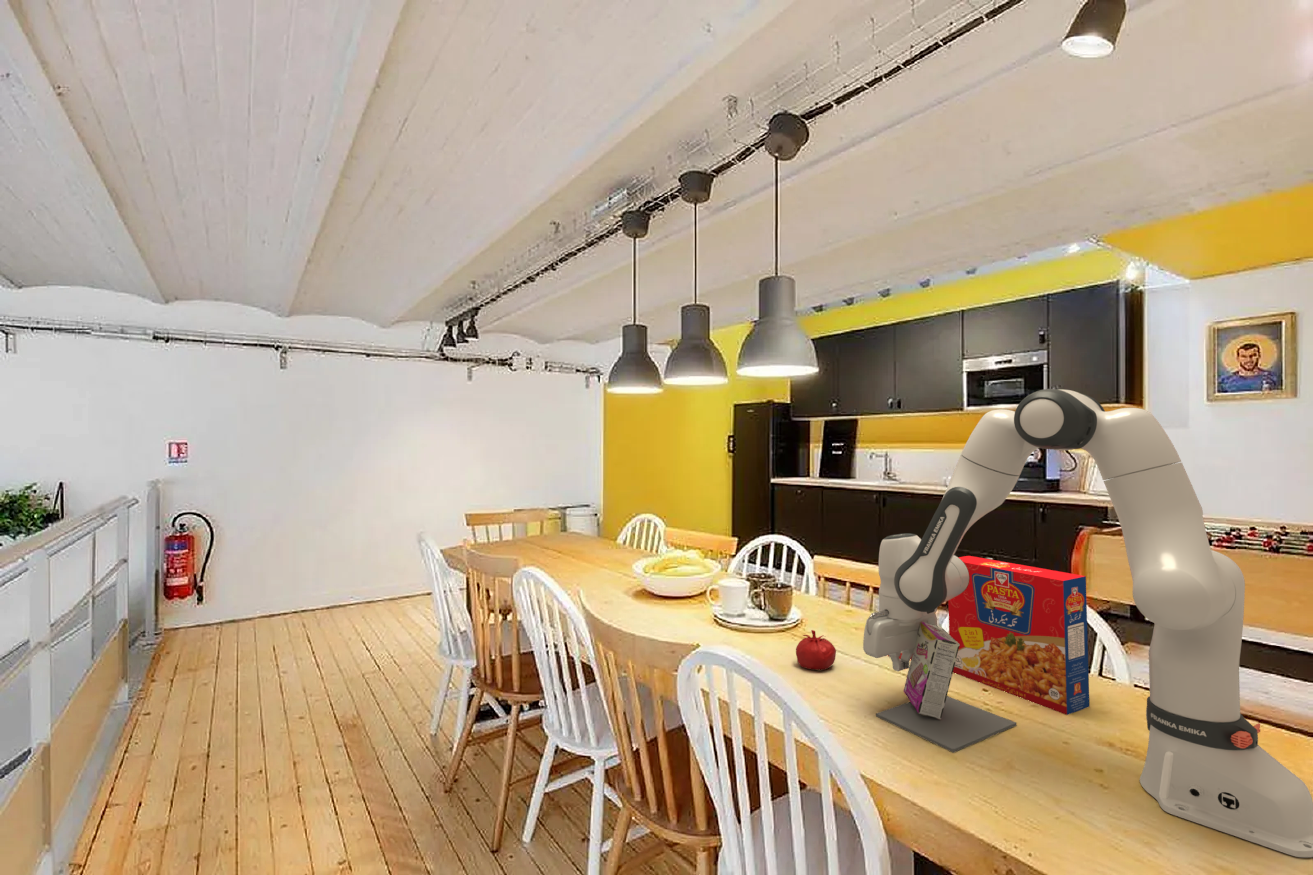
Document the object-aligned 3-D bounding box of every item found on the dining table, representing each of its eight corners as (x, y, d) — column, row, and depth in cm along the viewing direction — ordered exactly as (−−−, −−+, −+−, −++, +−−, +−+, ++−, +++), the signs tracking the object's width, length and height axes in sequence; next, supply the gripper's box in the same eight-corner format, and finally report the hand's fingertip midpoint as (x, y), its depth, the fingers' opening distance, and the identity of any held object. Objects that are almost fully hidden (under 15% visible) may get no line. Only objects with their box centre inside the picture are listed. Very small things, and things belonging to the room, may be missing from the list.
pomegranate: (827, 677, 154) (826, 640, 153) (789, 668, 160) (788, 632, 159) (842, 664, 161) (841, 628, 161) (805, 656, 168) (804, 622, 167)
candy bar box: (901, 691, 138) (919, 620, 138) (923, 697, 138) (942, 626, 137) (917, 714, 127) (936, 637, 127) (941, 721, 127) (961, 643, 126)
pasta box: (950, 671, 155) (947, 559, 155) (971, 665, 158) (968, 555, 158) (1066, 715, 129) (1063, 580, 130) (1089, 706, 133) (1085, 576, 133)
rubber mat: (1016, 725, 125) (1016, 722, 125) (953, 752, 115) (953, 749, 115) (937, 694, 141) (937, 692, 141) (875, 716, 131) (875, 713, 131)
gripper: (879, 618, 130) (879, 684, 130) (942, 603, 140) (943, 664, 140) (855, 610, 135) (856, 674, 135) (918, 596, 145) (918, 656, 145)
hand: (901, 669), depth 138 cm, fingers closed
